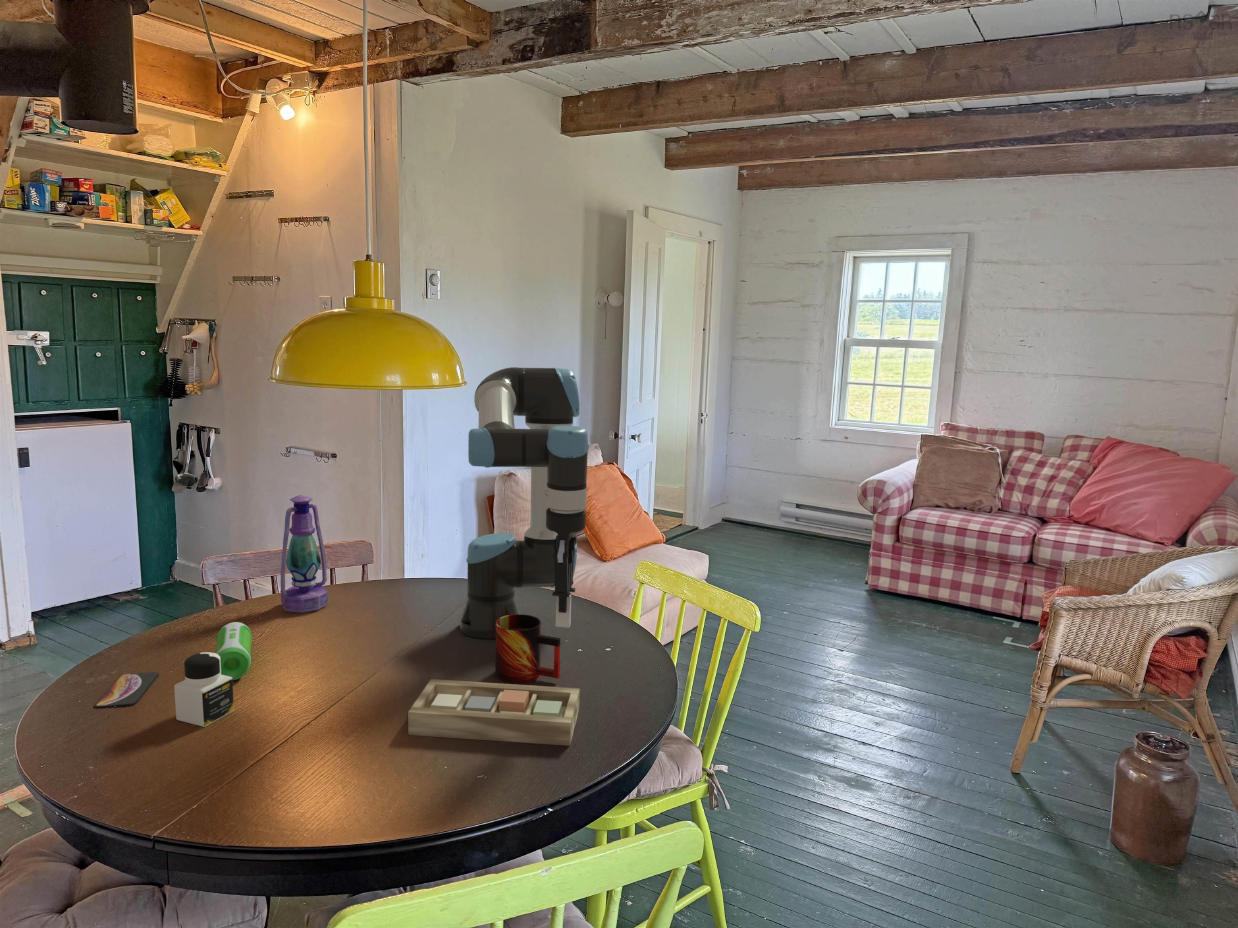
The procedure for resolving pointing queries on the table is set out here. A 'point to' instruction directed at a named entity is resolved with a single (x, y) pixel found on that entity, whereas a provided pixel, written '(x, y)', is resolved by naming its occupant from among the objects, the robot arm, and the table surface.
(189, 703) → the medicine bottle
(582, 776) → the table surface
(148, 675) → the smartphone
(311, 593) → the lantern
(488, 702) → the key slate
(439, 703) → the key ivory
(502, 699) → the key terracotta
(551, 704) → the key sage
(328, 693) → the table surface
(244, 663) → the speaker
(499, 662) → the mug
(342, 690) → the table surface
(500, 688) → the wooden compartment tray
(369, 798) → the table surface
